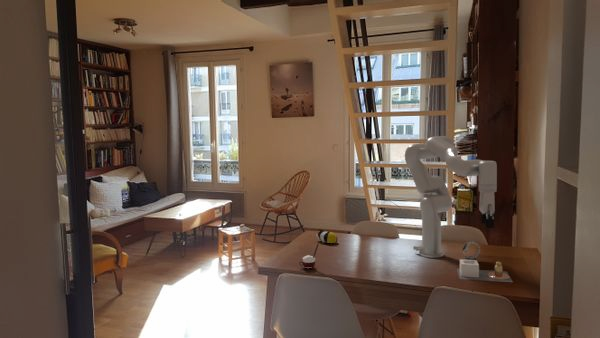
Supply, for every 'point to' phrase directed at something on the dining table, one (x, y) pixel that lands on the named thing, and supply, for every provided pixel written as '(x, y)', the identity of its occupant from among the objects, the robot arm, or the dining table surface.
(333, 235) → the figurine
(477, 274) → the square hollow frame
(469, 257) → the watch
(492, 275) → the hub
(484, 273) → the board
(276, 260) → the dining table surface
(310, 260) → the cocoa
